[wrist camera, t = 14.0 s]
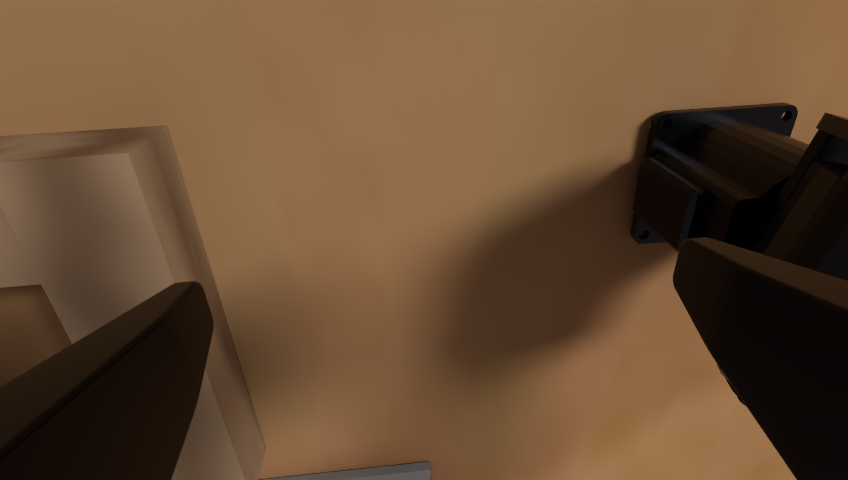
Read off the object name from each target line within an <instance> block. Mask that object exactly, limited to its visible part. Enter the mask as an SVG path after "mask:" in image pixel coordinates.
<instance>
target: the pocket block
mask: <svg viewBox="0 0 848 480" xmlns="http://www.w3.org/2000/svg"><path fill="white" fill-rule="evenodd" d="M188 281H198V282H199V283H201V285H202V286H203V288H204V291H205V294H206V297H207V300H208V303H209V307H210V310H211V313H212V316H213V320H214V330H213V335H212V339H211V344H210V349H209V353H208V358H207V363H206V367H205V372H204V377H203V381H202V386H201V391H200V395H199V399H198V403H197V406H196V409H195V412H194V416H193V418H192V421H191V424H190V427H189V430H188V433H187V436H186V439H185V442H184V445H183V447H182V450H181V453H180V456H179V459H178V462H177V465H176V468H175V471H174V474H173V476H172V479H171V480H258V478H259V473H260V469H261V465H262V461H263V456H264V452H265V448H266V447H265V444H264V441H263V437H262V434H261V431H260V428H259V424H258V421H257V418H256V415H255V411H254V408H253V405H252V402H251V398H250V395H249V392H248V389H247V385H246V382H245V379H244V376H243V372H242V369H241V366H240V363H239V360H238V356H237V353H236V350H235V347H234V343H233V340H232V337H231V334H230V330H229V327H228V324H227V321H226V317H225V314H224V311H223V308H222V304H221V301H220V298H219V295H218V291H217V288H216V285H215V282H214V278H213V275H212V272H211V269H210V265H209V262H208V259H207V256H206V253H205V249H204V246H203V243H202V240H201V236H200V233H199V230H198V227H197V223H196V220H195V217H194V214H193V210H192V207H191V204H190V201H189V197H188V194H187V191H186V188H185V184H184V181H183V178H182V175H181V171H180V168H179V165H178V162H177V159H176V155H175V152H174V149H173V146H172V142H171V139H170V136H169V133H168V129H167V126H154V127H139V128H124V129H108V130H93V131H78V132H63V133H48V134H33V135H18V136H3V137H0V288H3V287H15V286H27V285H39V284H41V285H42V287H43V289H44V291H45V293H46V295H47V297H48V299H49V301H50V303H51V304H52V306H53V308H54V310H55V312H56V314H57V316H58V318H59V320H60V322H61V324H62V326H63V327H64V329H65V331H66V333H67V335H68V337H69V339H70V341H71V343H72V344H73V343H75V342H76V341H78V340H80V339H82V338H83V337H85V336H87V335H88V334H90V333H92V332H93V331H95V330H97V329H98V328H100V327H102V326H103V325H105V324H107V323H108V322H110V321H112V320H113V319H115V318H117V317H118V316H120V315H122V314H123V313H125V312H127V311H128V310H130V309H132V308H133V307H135V306H137V305H138V304H140V303H142V302H143V301H145V300H147V299H148V298H150V297H152V296H153V295H155V294H157V293H159V292H160V291H162V290H164V289H165V288H167V287H169V286H170V285H172V284H174V283H177V282H188Z"/></svg>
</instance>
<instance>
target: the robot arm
mask: <svg viewBox="0 0 848 480" xmlns="http://www.w3.org/2000/svg"><path fill="white" fill-rule="evenodd" d="M784 112H785V115H784V117H783V118H781V116H782V114H783V113H784ZM797 113H798V111H797V108H796V107H795V106H793V105H790V104H787V103H775V104H761V105H746V106H731V107H717V108H702V109H687V110H673V111H663V112H660V113H658V114H657V115H655V117H654V118H653V120H652V122H651V127H650V132H649V137H648V143H647V148H646V153H645V159H644V160H643V161H642V162H641V166H640V171H639V176H638V182H637V187H636V193H635V198H634V203H633V211H634V217H633V222H632V228H631V236H632V238H633V239H634V240H635V241H636V242H637V243H640V244H645V243H657V242H668V243H669V244H670V245H671V246H672V247H673V248H674V249H675V250H676V251H677V252H678V258H677V262H676V266H675V270H674V274H673V284H674V287H675V289H676V291H677V293H678V295H679V297H680V299H681V301H682V302H683V304H684V306H685V308H686V310H687V312H688V314H689V315H690V317H691V319H692V321H693V323H694V325H695V327H696V328H697V330H698V332H699V334H700V336H701V338H702V339H703V341H704V343H705V345H706V347H707V348H708V350H709V352H710V353H711V355H712V356H713V358H714V359H715V361H716V363H717V365H718V368H719V370H720V372H721V374H722V375H723V376H724V377H725V378H726V380H727V382H728V384H729V386H730V387H731V389H732V390H733V392H734V393H735V394H736V395H737V397H738V399H739V400H740V402H742V403H743V404H744V405H745V406H747V408H748V409H749V411H750V412H751V414H752V415H753V417H754V418H755V419H756V421H757V422H758V424H759V425H760V427H761V428H762V430H763V431H764V433H765V434H766V436H767V437H768V438H769V440H770V441H771V443H772V444H773V446H774V447H775V449H776V450H777V452H778V453H779V454H780V456H781V457H782V459H783V460H784V462H785V463H786V465H787V466H788V468H789V469H790V470H791V472H792V473H793V475H794V476H795V478H796V479H797V480H848V118H844V117H841V116H837V115H833V114H829V113H825V114H824V115H823V117H822V119H821V120H820V122H819V123H818V125H817V127H816V128H817V129H819V130H818V132H817V133H816V135H815V136H814V138H813V140H812V141H811V143H810V144H809V145H808V144H806V143H803V142H801V141H798V140H796V139H793V138H791V137H790V135H791V132H792V129H793V126H794V123H795V120H796V118H797ZM666 119H668V122H667V125H666V126H665V127H663V128H661V124H662V122H663V121H664V120H666ZM644 230H645V233H644V234H643V235H640V233H641V232H642V231H644ZM639 235H640V236H639ZM213 330H214V320H213V316H212V313H211V310H210V307H209V303H208V300H207V297H206V294H205V291H204V288H203V286H202V285H201V283H199V282H198V281H188V282H177V283H174V284H172V285H170V286H169V287H167V288H165V289H164V290H162V291H160V292H159V293H157V294H155V295H153V296H152V297H150V298H148V299H147V300H145V301H143V302H142V303H140V304H138V305H137V306H135V307H133V308H132V309H130V310H128V311H127V312H125V313H123V314H122V315H120V316H118V317H117V318H115V319H113V320H112V321H110V322H108V323H107V324H105V325H103V326H102V327H100V328H98V329H97V330H95V331H93V332H92V333H90V334H88V335H87V336H85V337H83V338H82V339H80V340H78V341H76V342H75V343H73V344H71V345H70V346H68V347H66V348H65V349H63V350H61V351H60V352H58V353H56V354H55V355H53V356H51V357H50V358H48V359H46V360H45V361H43V362H41V363H40V364H38V365H36V366H35V367H33V368H31V369H30V370H28V371H26V372H25V373H23V374H21V375H20V376H18V377H16V378H15V379H13V380H11V381H10V382H8V383H6V384H5V385H3V386H1V387H0V480H171V479H172V476H173V474H174V471H175V468H176V465H177V462H178V459H179V456H180V453H181V450H182V447H183V445H184V442H185V439H186V436H187V433H188V430H189V427H190V424H191V421H192V418H193V416H194V412H195V409H196V406H197V403H198V399H199V395H200V391H201V386H202V381H203V377H204V372H205V367H206V363H207V358H208V353H209V349H210V344H211V339H212V335H213Z"/></svg>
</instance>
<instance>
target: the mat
mask: <svg viewBox="0 0 848 480" xmlns="http://www.w3.org/2000/svg"><path fill="white" fill-rule="evenodd" d="M262 480H431V475H430V464H429V462H421V463H411V464H402V465H393V466H383V467H374V468H365V469H355V470H346V471H337V472H327V473H318V474H309V475H299V476H290V477H281V478H271V479H262Z"/></svg>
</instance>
